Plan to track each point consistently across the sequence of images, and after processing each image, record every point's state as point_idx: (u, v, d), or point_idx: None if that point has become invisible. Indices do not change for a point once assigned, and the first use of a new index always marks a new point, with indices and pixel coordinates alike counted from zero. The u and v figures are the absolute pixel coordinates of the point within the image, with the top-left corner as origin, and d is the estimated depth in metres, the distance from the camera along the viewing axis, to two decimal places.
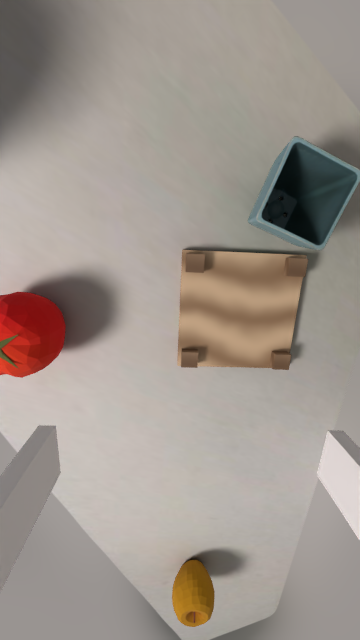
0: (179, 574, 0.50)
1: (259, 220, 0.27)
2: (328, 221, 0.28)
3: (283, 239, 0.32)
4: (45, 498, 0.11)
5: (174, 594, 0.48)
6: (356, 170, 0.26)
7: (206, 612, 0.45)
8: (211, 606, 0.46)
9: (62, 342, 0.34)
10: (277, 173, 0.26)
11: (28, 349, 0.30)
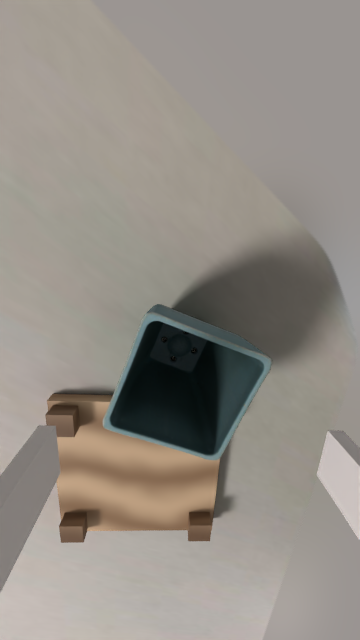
0: None
1: (107, 428, 0.16)
2: (229, 413, 0.18)
3: None
4: (45, 499, 0.11)
5: None
6: (261, 358, 0.15)
7: None
8: None
9: None
10: (126, 365, 0.15)
11: None
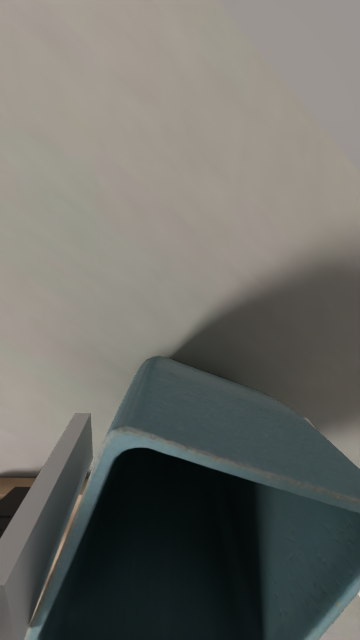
0: None
1: None
2: (291, 587, 0.09)
3: None
4: (82, 480, 0.12)
5: None
6: None
7: None
8: None
9: None
10: (68, 543, 0.06)
11: None
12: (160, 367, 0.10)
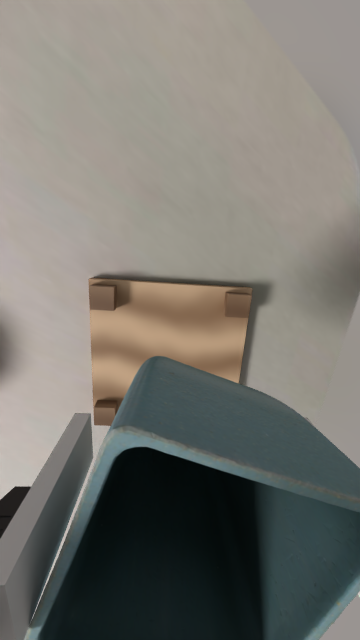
0: None
1: None
2: (292, 587, 0.09)
3: None
4: (82, 480, 0.12)
5: None
6: None
7: None
8: None
9: None
10: (69, 542, 0.06)
11: None
12: (160, 366, 0.10)
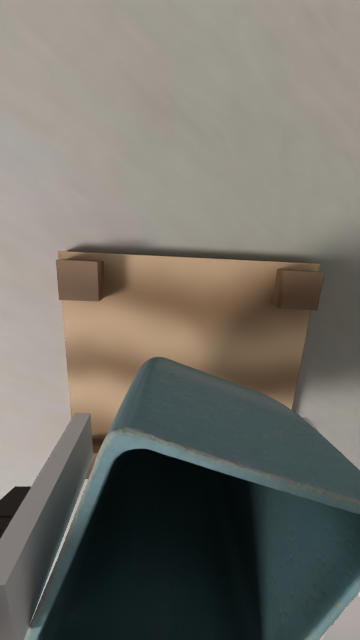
0: None
1: None
2: (291, 588, 0.09)
3: None
4: (82, 480, 0.12)
5: None
6: None
7: None
8: None
9: None
10: (68, 543, 0.06)
11: None
12: (160, 368, 0.10)
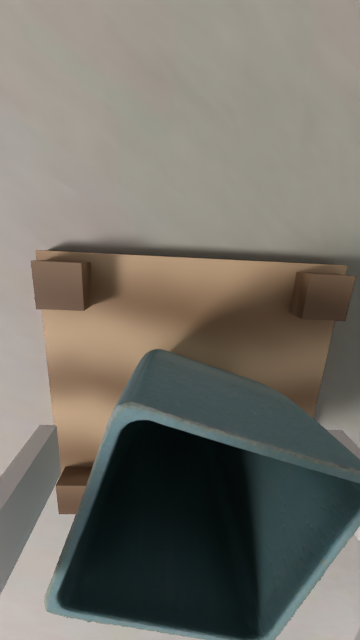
0: None
1: (54, 612, 0.08)
2: (284, 553, 0.10)
3: None
4: (45, 498, 0.11)
5: None
6: None
7: None
8: None
9: None
10: (82, 506, 0.07)
11: None
12: (160, 357, 0.11)
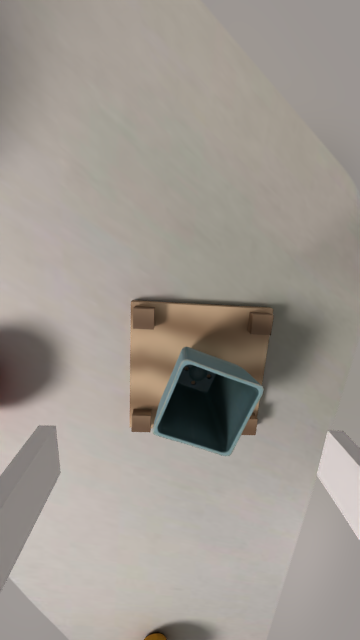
0: None
1: (155, 434, 0.25)
2: (236, 423, 0.26)
3: None
4: (44, 498, 0.11)
5: None
6: (256, 386, 0.24)
7: None
8: None
9: None
10: (169, 392, 0.24)
11: None
12: (189, 349, 0.27)
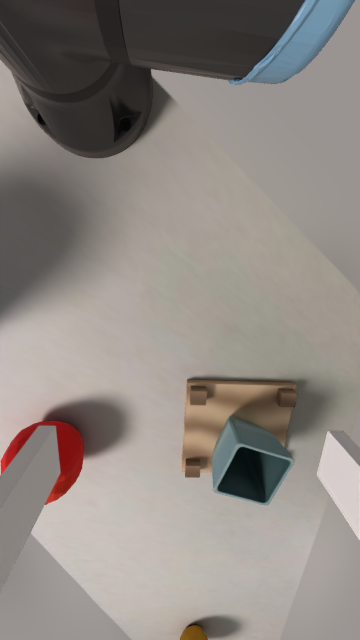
0: None
1: (215, 492, 0.34)
2: (272, 480, 0.36)
3: None
4: (45, 498, 0.11)
5: None
6: (289, 459, 0.33)
7: None
8: None
9: (81, 464, 0.39)
10: (227, 465, 0.33)
11: (55, 487, 0.34)
12: (236, 425, 0.36)
